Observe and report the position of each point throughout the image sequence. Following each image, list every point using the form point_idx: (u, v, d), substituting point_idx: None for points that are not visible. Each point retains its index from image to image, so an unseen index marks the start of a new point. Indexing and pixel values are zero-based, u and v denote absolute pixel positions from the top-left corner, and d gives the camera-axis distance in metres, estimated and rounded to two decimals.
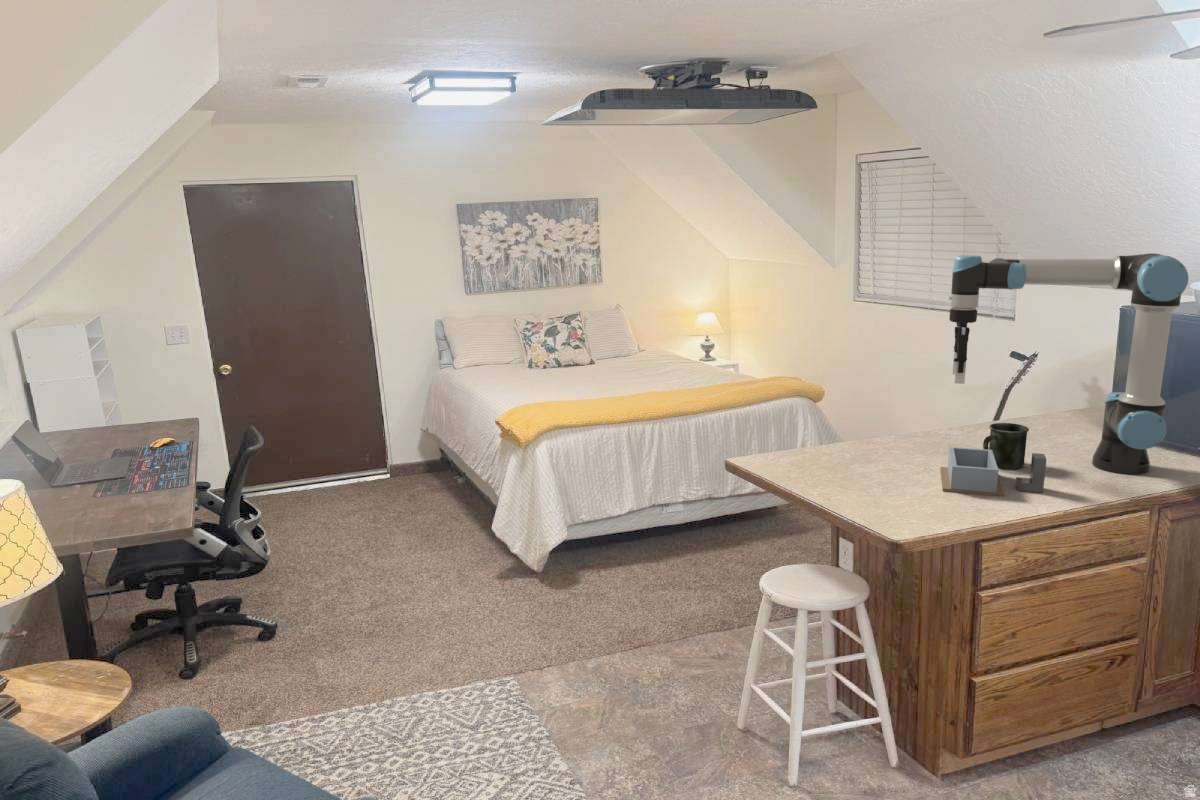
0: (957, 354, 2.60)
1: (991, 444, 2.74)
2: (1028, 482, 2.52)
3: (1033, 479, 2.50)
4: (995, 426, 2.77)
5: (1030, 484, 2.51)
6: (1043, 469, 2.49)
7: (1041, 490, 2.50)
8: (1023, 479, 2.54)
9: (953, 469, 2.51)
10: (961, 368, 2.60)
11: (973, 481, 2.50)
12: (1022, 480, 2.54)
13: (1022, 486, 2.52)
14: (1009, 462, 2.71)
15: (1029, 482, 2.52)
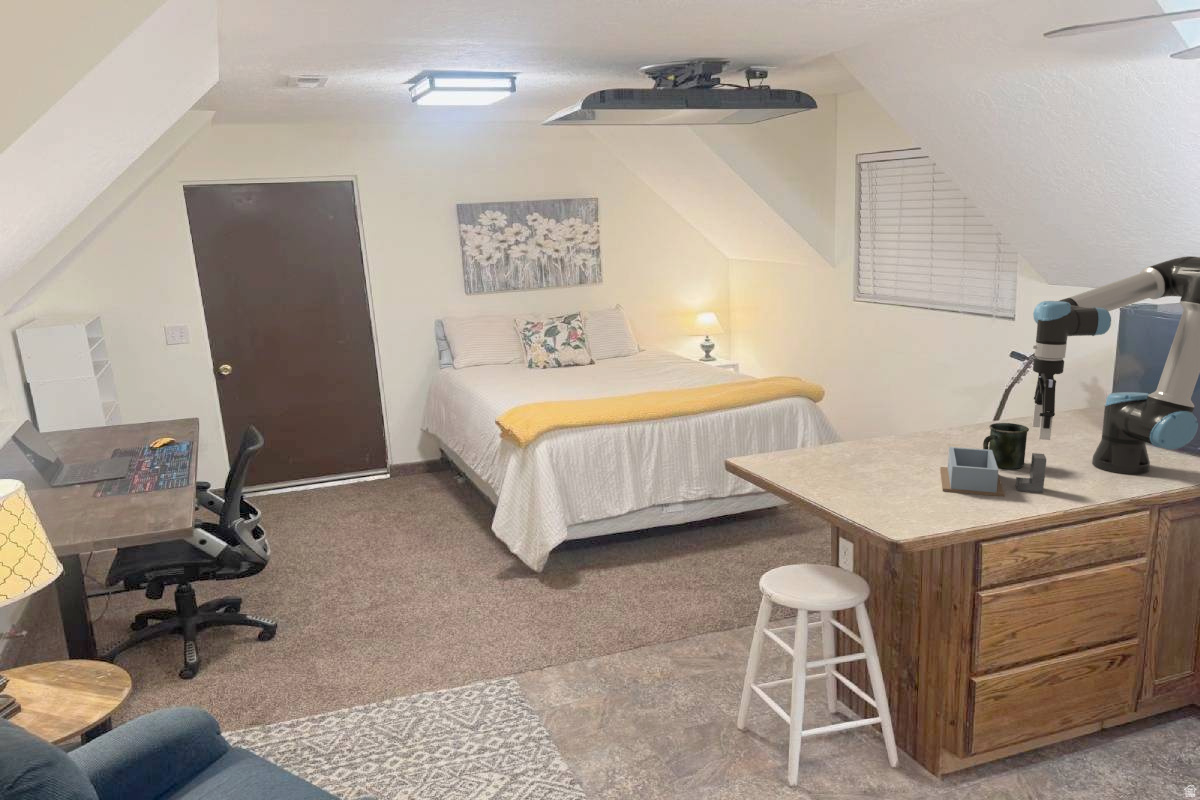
0: (1043, 408, 2.41)
1: (991, 444, 2.74)
2: (1028, 482, 2.52)
3: (1033, 479, 2.50)
4: (995, 426, 2.77)
5: (1030, 484, 2.51)
6: (1043, 469, 2.49)
7: (1041, 490, 2.50)
8: (1023, 479, 2.54)
9: (953, 469, 2.51)
10: (1047, 423, 2.40)
11: (973, 481, 2.50)
12: (1022, 480, 2.54)
13: (1022, 486, 2.52)
14: (1009, 462, 2.71)
15: (1029, 482, 2.52)
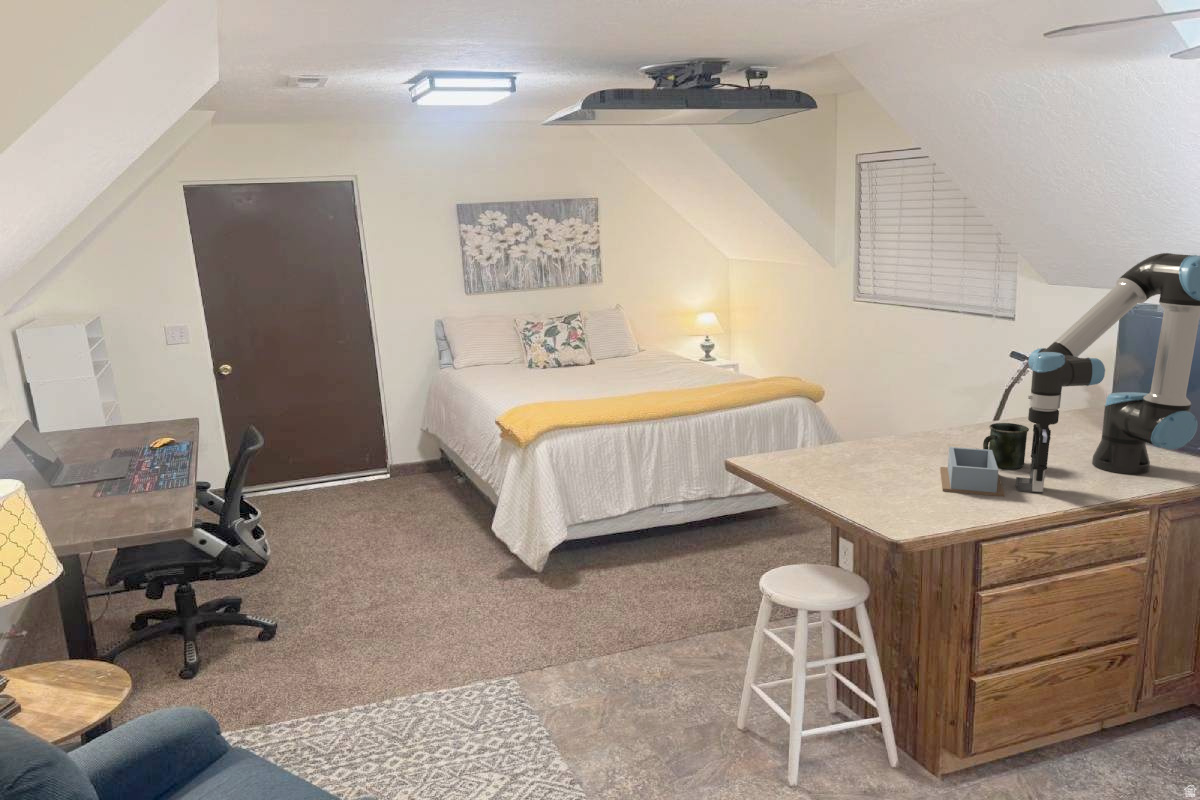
0: (1036, 462, 2.48)
1: (991, 444, 2.74)
2: (1028, 482, 2.52)
3: None
4: (995, 426, 2.77)
5: (1030, 484, 2.51)
6: None
7: None
8: (1023, 479, 2.54)
9: (953, 469, 2.51)
10: (1040, 476, 2.48)
11: (973, 481, 2.50)
12: (1022, 480, 2.54)
13: (1022, 486, 2.52)
14: (1009, 462, 2.71)
15: (1029, 482, 2.51)
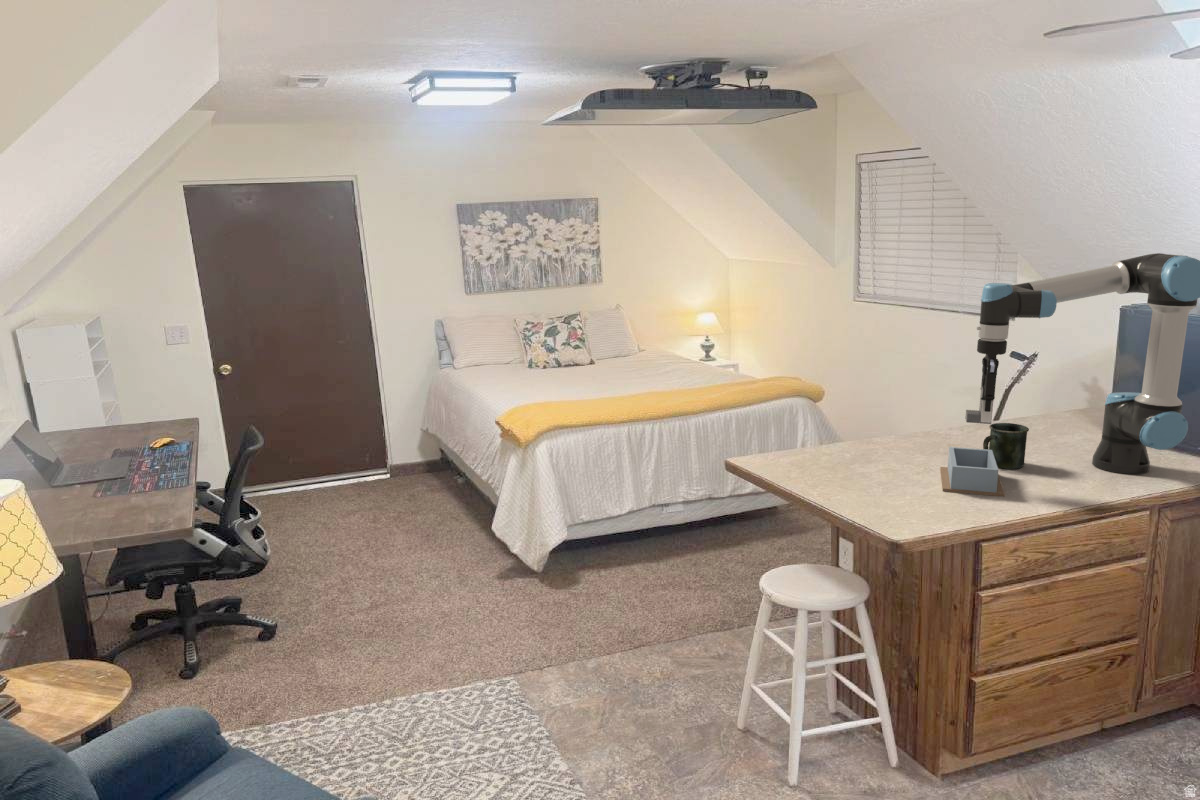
0: (984, 392, 2.50)
1: (991, 444, 2.74)
2: (976, 414, 2.53)
3: (981, 410, 2.52)
4: (995, 426, 2.77)
5: (979, 415, 2.53)
6: None
7: None
8: (972, 411, 2.56)
9: (953, 469, 2.51)
10: (988, 407, 2.50)
11: (973, 481, 2.50)
12: (971, 412, 2.55)
13: (970, 417, 2.54)
14: (1009, 462, 2.71)
15: (978, 414, 2.53)
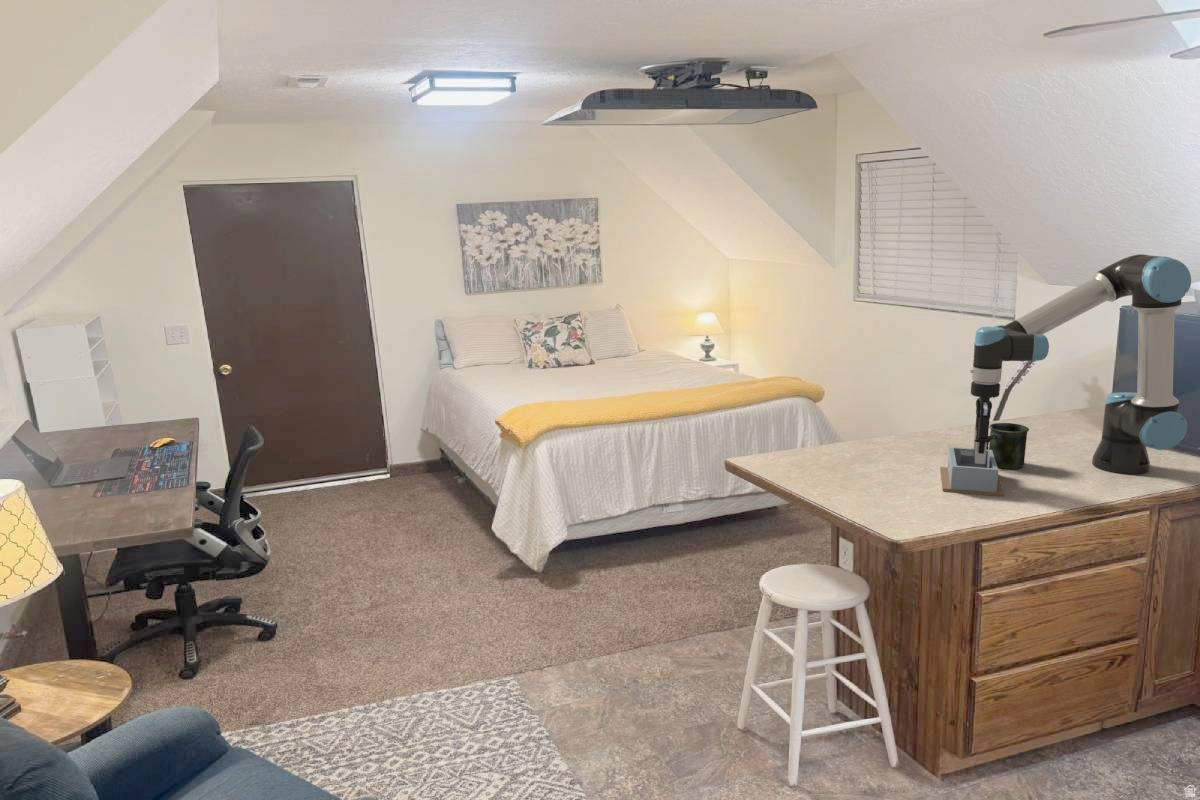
0: (978, 434, 2.53)
1: (991, 444, 2.74)
2: (970, 455, 2.57)
3: (975, 451, 2.56)
4: (995, 426, 2.77)
5: (972, 456, 2.56)
6: None
7: None
8: (966, 452, 2.60)
9: (953, 469, 2.51)
10: (982, 449, 2.53)
11: (973, 481, 2.50)
12: (965, 453, 2.59)
13: (964, 459, 2.57)
14: (1009, 462, 2.71)
15: (972, 455, 2.57)
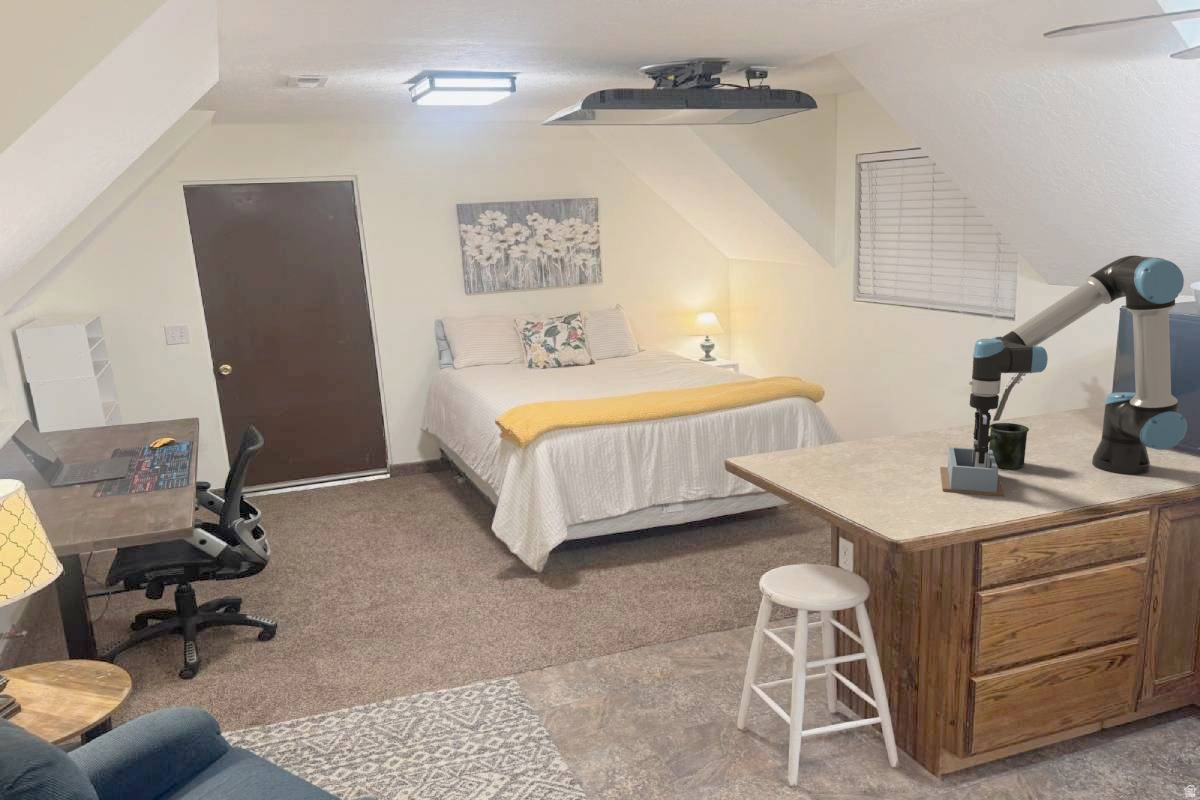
0: None
1: (991, 444, 2.74)
2: None
3: None
4: (995, 426, 2.77)
5: None
6: None
7: None
8: None
9: (953, 469, 2.51)
10: (982, 459, 2.51)
11: (973, 481, 2.50)
12: None
13: None
14: (1009, 462, 2.71)
15: None
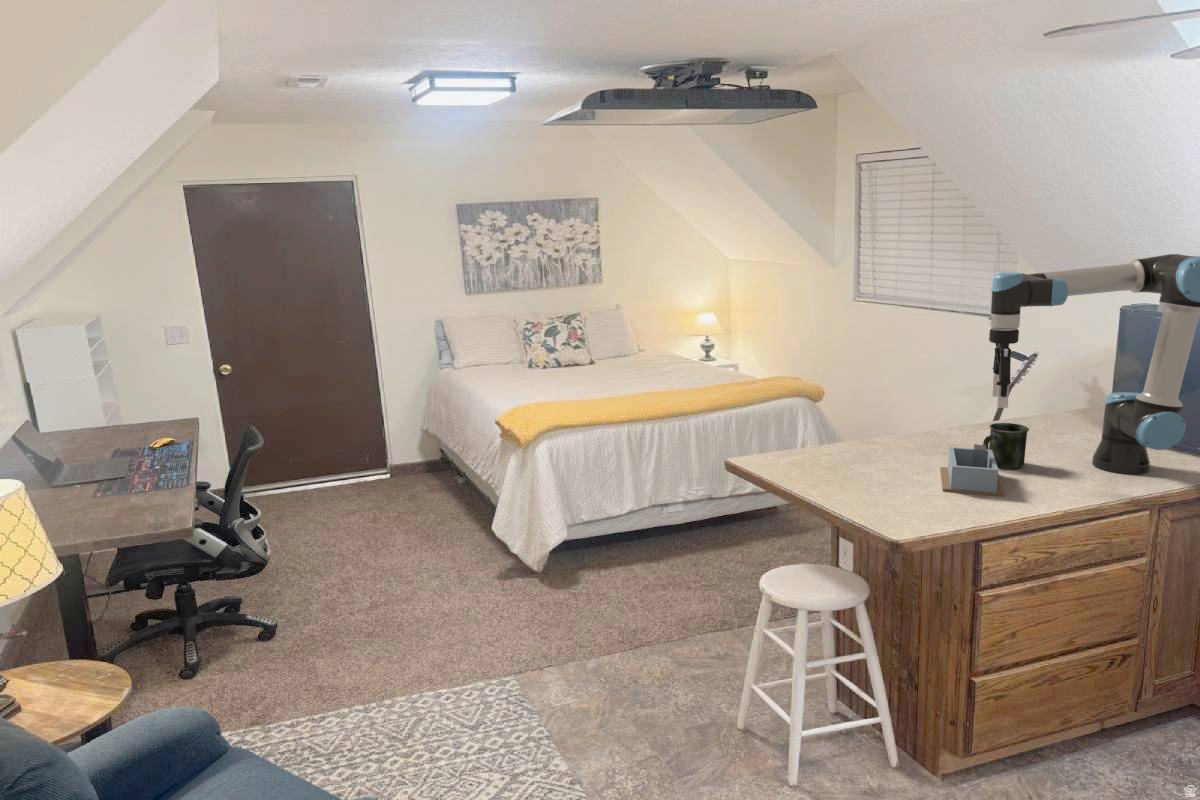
0: (999, 377, 2.47)
1: (991, 444, 2.74)
2: None
3: None
4: (995, 426, 2.77)
5: None
6: (983, 460, 2.55)
7: None
8: None
9: (953, 469, 2.51)
10: (1004, 392, 2.47)
11: (973, 481, 2.50)
12: None
13: None
14: (1009, 462, 2.71)
15: None
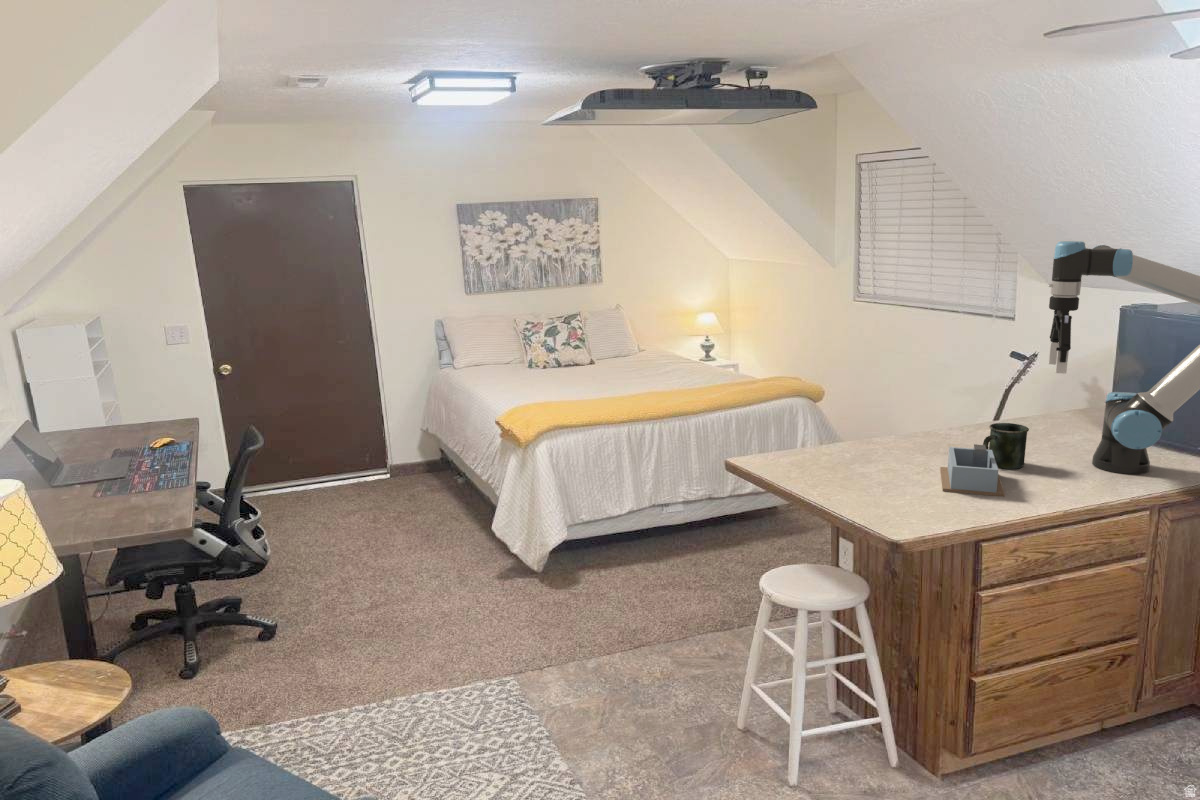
0: (1059, 343, 2.52)
1: (991, 444, 2.74)
2: None
3: None
4: (995, 426, 2.77)
5: None
6: (983, 460, 2.55)
7: None
8: None
9: (953, 469, 2.51)
10: (1064, 357, 2.52)
11: (973, 481, 2.50)
12: None
13: None
14: (1009, 462, 2.71)
15: None
